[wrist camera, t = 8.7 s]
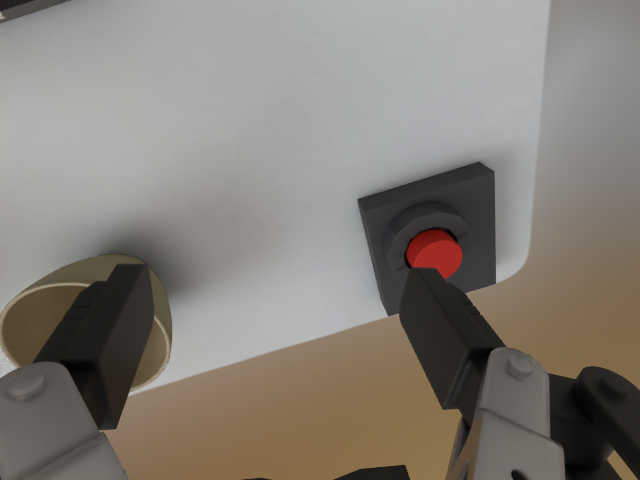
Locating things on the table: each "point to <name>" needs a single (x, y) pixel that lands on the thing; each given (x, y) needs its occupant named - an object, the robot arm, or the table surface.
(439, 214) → the button block
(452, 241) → the button
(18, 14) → the timer panel
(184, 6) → the table surface
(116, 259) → the bowl
